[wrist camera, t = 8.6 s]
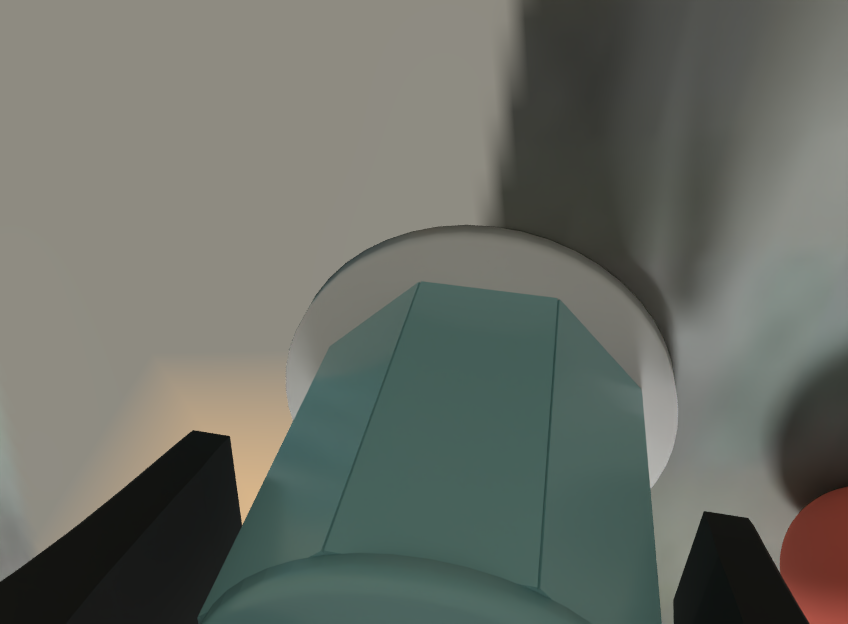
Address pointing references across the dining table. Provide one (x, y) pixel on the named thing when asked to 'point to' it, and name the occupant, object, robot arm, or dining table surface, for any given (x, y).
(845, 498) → the red ball
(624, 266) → the dining table surface
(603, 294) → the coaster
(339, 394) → the teal octagonal canister
